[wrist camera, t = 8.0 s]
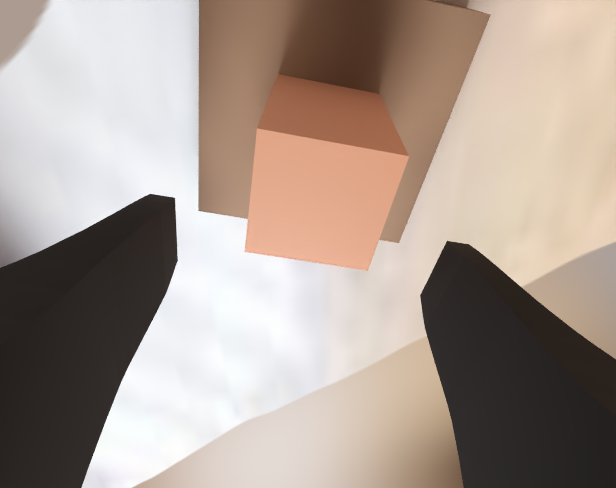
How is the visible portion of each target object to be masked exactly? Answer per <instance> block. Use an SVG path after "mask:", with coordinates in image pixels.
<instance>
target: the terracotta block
mask: <svg viewBox="0 0 616 488" xmlns="http://www.w3.org/2000/svg"><path fill="white" fill-rule="evenodd" d="M408 158H409V155H408V153H407V150H406V148H405V146H404V144H403V142H402V140H401V138H400V136H399V134H398V132H397V130H396V128H395V126H394V123H393V121H392V119H391V117H390V115H389V113H388V111H387V109H386V107H385V105H384V103H383V101H382V98H381V96H380V94H377V93H372V92H367V91H362V90H357V89H351V88H346V87H341V86H336V85H331V84H326V83H321V82H316V81H311V80H306V79H300V78H295V77H290V76H285V75H280V74H278V75H277V78H276V80H275V83H274V85H273V88H272V91H271V93H270V96H269V98H268V101H267V104H266V106H265V109H264V111H263V114H262V117H261V119H260V122H259V124H258V127H257V133H256V143H255V153H254V163H253V173H252V183H251V194H250V204H249V214H248V224H247V234H246V244H245V252H250V253H257V254H263V255H270V256H276V257H283V258H289V259H296V260H302V261H309V262H315V263H322V264H328V265H335V266H341V267H348V268H354V269H361V270H367V271H368V269H369V266H370V263H371V261H372V258H373V255H374V252H375V250H376V247H377V244H378V241H379V239H380V236H381V233H382V230H383V228H384V225H385V222H386V219H387V216H388V214H389V211H390V208H391V205H392V203H393V200H394V197H395V194H396V192H397V189H398V186H399V183H400V181H401V178H402V175H403V172H404V169H405V167H406V164H407V161H408Z"/></svg>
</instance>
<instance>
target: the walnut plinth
mask: <svg viewBox="0 0 616 488" xmlns="http://www.w3.org/2000/svg"><path fill="white" fill-rule="evenodd" d="M489 17H490V14H486V13H483V12H479V11H475V10H472V9H468V8H463V7H459V6H454V5H450V4H445V3H441V2H436V1H432V0H199V211H203V212H209V213H215V214H222V215H228V216H234V217H240V218H246V219H248V214H249V204H250V194H251V183H252V173H253V163H254V153H255V143H256V133H257V127H258V124H259V122H260V119H261V117H262V114H263V111H264V109H265V106H266V104H267V101H268V98H269V96H270V93H271V91H272V88H273V85H274V83H275V80H276V78H277V75H278V74H280V75H285V76H290V77H295V78H300V79H306V80H311V81H316V82H321V83H326V84H331V85H336V86H341V87H346V88H351V89H357V90H362V91H367V92H372V93H377V94H380V96H381V98H382V101H383V103H384V105H385V107H386V109H387V111H388V113H389V115H390V117H391V119H392V121H393V123H394V126H395V128H396V130H397V132H398V134H399V136H400V138H401V140H402V142H403V144H404V146H405V148H406V150H407V153H408V155H409V158H408V161H407V164H406V167H405V169H404V172H403V175H402V178H401V181H400V183H399V186H398V189H397V192H396V194H395V197H394V200H393V203H392V205H391V208H390V211H389V214H388V216H387V219H386V222H385V225H384V228H383V230H382V233H381V236H380V239H379V240H384V241H390V242H396V243H399V241H400V239H401V236H402V234H403V231H404V229H405V226H406V224H407V221H408V219H409V216H410V214H411V211H412V209H413V206H414V204H415V201H416V199H417V196H418V194H419V192H420V189H421V187H422V184H423V182H424V179H425V177H426V174H427V172H428V169H429V167H430V164H431V162H432V159H433V157H434V154H435V152H436V149H437V147H438V144H439V142H440V139H441V137H442V134H443V132H444V129H445V127H446V124H447V122H448V119H449V117H450V114H451V112H452V109H453V107H454V104H455V102H456V100H457V97H458V95H459V92H460V90H461V87H462V85H463V82H464V80H465V77H466V75H467V72H468V70H469V67H470V65H471V62H472V60H473V57H474V55H475V52H476V50H477V47H478V45H479V42H480V40H481V37H482V35H483V32H484V30H485V27H486V25H487V22H488V20H489Z"/></svg>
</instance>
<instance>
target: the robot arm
mask: <svg viewBox="0 0 616 488" xmlns="http://www.w3.org/2000/svg"><path fill="white" fill-rule="evenodd" d="M177 261H178V259H177V236H176V213H175V198H173V197H166V196H160V195H154V194H149V195H147V196H145V197H143V198H141V199H139V200H137V201H135V202H134V203H132V204H130V205H128V206H126V207H125V208H123V209H121V210H119V211H117V212H116V213H114V214H112V215H110V216H108V217H107V218H105V219H103V220H101V221H99V222H97V223H96V224H94V225H92V226H90V227H88V228H86V229H84V230H83V231H81V232H79V233H76V234H74V235H72V236H70V237H68V238H66V239H64V240H62V241H60V242H58V243H56V244H54V245H52V246H50V247H48V248H46V249H44V250H42V251H40V252H37V253H35V254H33V255H31V256H28V257H26V258H24V259H21V260H19V261H17V262H14V263H12V264H9V265H7V266H4V267H2V268H0V488H81V487H82V484H83V481H84V479H85V476H86V473H87V470H88V467H89V464H90V462H91V459H92V456H93V454H94V451H95V448H96V445H97V443H98V440H99V437H100V435H101V432H102V429H103V427H104V424H105V421H106V419H107V416H108V414H109V411H110V409H111V406H112V404H113V401H114V398H115V396H116V393H117V391H118V388H119V386H120V383H121V381H122V379H123V377H124V375H125V373H126V370H127V368H128V366H129V364H130V362H131V360H132V358H133V356H134V354H135V353H136V351H137V349H138V347H139V345H140V343H141V341H142V339H143V337H144V335H145V333H146V331H147V329H148V328H149V326H150V324H151V322H152V320H153V318H154V316H155V314H156V312H157V310H158V308H159V306H160V304H161V302H162V300H163V298H164V296H165V294H166V292H167V289H168V286H169V284H170V281H171V278H172V275H173V272H174V269H175V266H176V263H177ZM420 296H421V304H422V312H423V318H424V324H425V330H426V333H427V337H428V340H429V344H430V347H431V351H432V354H433V357H434V361H435V364H436V367H437V371H438V374H439V377H440V381H441V384H442V387H443V391H444V394H445V397H446V401H447V404H448V408H449V411H450V416H451V419H452V423H453V429H454V434H455V440H456V445H457V450H458V455H459V460H460V467H461V473H462V479H463V486H464V488H616V359H614V358H613V357H611V356H610V355H609V354H607V353H605V352H604V351H603V350H601V349H600V348H598V347H597V346H595V345H594V344H592V343H591V342H590V341H588V340H587V339H586V338H584V337H583V336H581V335H580V334H579V333H577V332H576V331H575V330H573V329H572V328H571V327H569V326H568V325H567V324H566V323H564V322H563V321H562V320H561V319H559V318H558V317H557V316H555V315H554V314H553V313H552V312H550V311H549V310H548V309H547V308H545V307H544V306H543V305H541V303H539V302H538V301H537V300H536V299H534V298H533V297H532V296H531V295H530V294H528V293H527V292H526V291H525V290H524V289H523V288H521V287H520V286H519V285H518V284H517V283H516V282H514V281H513V280H512V279H511V278H510V277H509V276H507V275H506V274H505V273H504V272H503V271H502V270H500V269H499V268H498V267H497V266H496V265H495V264H493V263H492V262H491V261H490V260H489V259H487V258H486V257H485V256H484V255H482V254H481V253H480V252H479V251H477V250H476V249H475V248H473V247H472V246H470V245H469V244H463V243H457V242H450V241H447V242H446V244H445V246H444V248H443V250H442V253H441V255H440V257H439V259H438V261H437V263H436V265H435V267H434V269H433V271H432V273H431V275H430V277H429V279H428V281H427V283H426V285H425V287H424V289H423V291H422V293H421V295H420Z"/></svg>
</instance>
